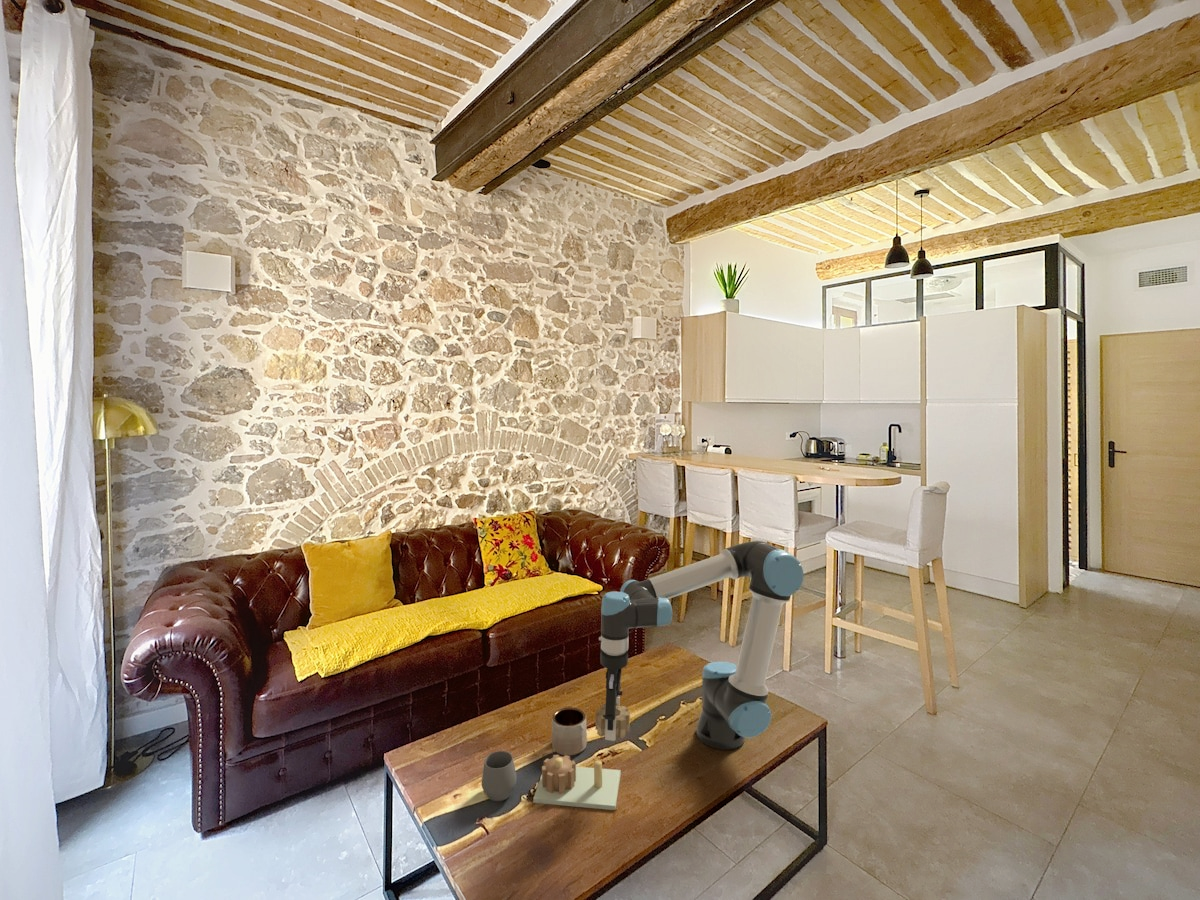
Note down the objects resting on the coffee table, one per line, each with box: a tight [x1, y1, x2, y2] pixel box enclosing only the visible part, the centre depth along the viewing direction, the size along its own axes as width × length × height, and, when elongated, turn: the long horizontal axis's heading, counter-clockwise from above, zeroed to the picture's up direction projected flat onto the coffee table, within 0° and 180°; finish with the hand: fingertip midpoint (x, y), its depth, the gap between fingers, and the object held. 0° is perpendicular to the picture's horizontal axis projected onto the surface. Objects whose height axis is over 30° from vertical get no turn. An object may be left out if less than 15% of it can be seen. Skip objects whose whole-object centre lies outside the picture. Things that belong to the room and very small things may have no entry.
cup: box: [481, 750, 517, 802], centre depth 148 cm, size 10×9×10 cm
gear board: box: [532, 753, 622, 811], centre depth 150 cm, size 22×14×8 cm, turn 82°
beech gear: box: [595, 703, 631, 740], centre depth 150 cm, size 9×9×5 cm
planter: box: [551, 706, 588, 757], centre depth 169 cm, size 11×11×10 cm
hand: (612, 728), depth 150 cm, fingers closed on beech gear, 9 cm apart
